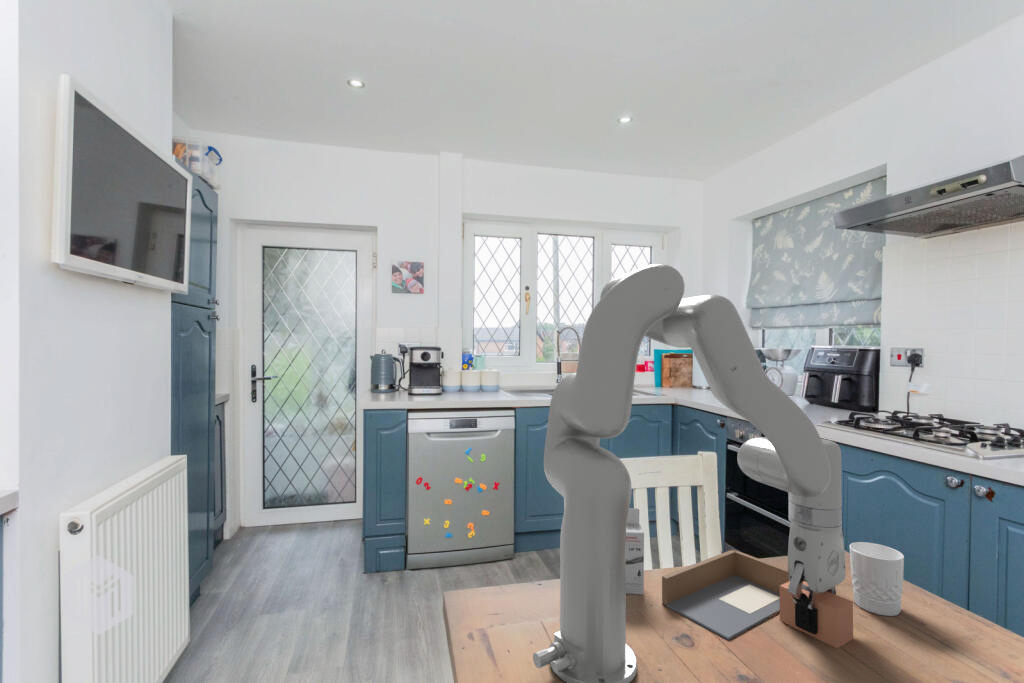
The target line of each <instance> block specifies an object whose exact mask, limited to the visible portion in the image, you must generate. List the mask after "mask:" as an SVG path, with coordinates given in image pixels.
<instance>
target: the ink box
mask: <svg viewBox="0 0 1024 683" xmlns="http://www.w3.org/2000/svg"><path fill="white" fill-rule="evenodd" d="M644 582H645V531H644V530H643V527H642V526H641V524H640V509H639V508H637V507H634V508H633V507H629V511H628V517H627V525H626V595H628V594H629V595H644V594H645V583H644Z"/></svg>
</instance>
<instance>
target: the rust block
mask: <svg viewBox="0 0 1024 683" xmlns="http://www.w3.org/2000/svg"><path fill="white" fill-rule="evenodd" d="M789 584H790V581H789V582H787V583H784V584H782V585H780V612H779V621H780V622H782V623H784V624H786V625H788V626H790V627H793V628H795V629H797V630H798V631H801V632H803V633H805V634H807V635H809V636H810V637H813V638H815V639H816V640H820V641H821V642H822V643H823V642H824V643H825V644H826V645H829V646H831V647H834V648H835V649H838V648H840V647H842V646H844V645H845V644H847V643H849V642H850V641H851V640H854V601H852V600H850V599H847V598H845V597H842V596H840V595H837V594H836V595H835V594H833V593H830V592H828V591H825V592H823V593H820V594H818V593H816V601H815V608H816V609H817V616H818V633H817V634H812V633H810V632H808V631H805V630H803V629H801V628H799V627H797V626H796V625H795V603H794V598H793V597H792V595H791V594H790V593H789V592H788V587H789ZM803 584H804V585H807V586H808V584H807V582H805V581H803ZM802 592H803V593H804V594H806V595H807V597H808V598H809V591H807V590H804V589H802Z"/></svg>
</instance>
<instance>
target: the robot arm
mask: <svg viewBox="0 0 1024 683" xmlns="http://www.w3.org/2000/svg"><path fill="white" fill-rule="evenodd" d="M684 294H685V280H684V278H683V276H682V274H681V273H680V272H679V271H678V269H677V268H674V267H673V266H671V265H667V264H665V263H663V264H661V263H660V264H659V263H655V264H654V263H653V264H648V265H645V266H642V267H640V268H637V269H634V270H632V271H629V272H626V273H623V274H621V275H617V276H615V277H614V278H612V279H609V281H608V282H607V283H606V284H605V285H604V287H603V289H602V290H601V293H600V297H599V298H600V299H599V301H598V302H597V303H596V305H595V306H594V307H593V309H592V311H591V313H590V315H589V317H588V319H587V321H586V323H585V326H584V330H583V334H582V338H581V342H580V343H581V345H580V350H579V356H578V361H577V368H576V372H573V373H570V374H568V375H565V376H564V377H563V378H562V379H561V380H560V381H559V382H558V384H557V385H556V386H555V388H554V391H553V392H552V396H551V397H550V398H551V399H550V404H549V411H548V418H547V425H546V433H545V434H546V435H545V441H544V442H545V443H544V451H543V470H544V474H545V477H546V479H547V481H548V482H549V484H550V485H551V487H552V488H553V489H554V490H555V491H556V492H557V493H559V495H561V497H563V499H564V511H563V516H562V521H561V528H560V539H559V540H560V541H559V543H560V544H559V556H560V557H559V558H560V561H559V566H560V567H559V568H560V571H559V577H560V578H559V584H560V585H559V586H560V587H559V589H560V590H559V599H560V600H559V602H560V604H559V607H560V608H559V616H560V617H559V618H560V619H559V631H557V632H554V634H553V637H554V640H553V641H554V642H551V643H550V644H549V647H548V648H543V649H541V650H538V651H536V652H534V653H533V654H532V660H533V664H534V666H535V667H536V668H537V669H541V668H543V667H546V666H548V665H550V667H551V669H552V671H553V672H554V673H555V675H557V677H559V679H561V680H562V681H563V682H565V683H631V682H632V681H633V680H634V678H635V677H636V675H637V671H638V669H637V667H638V661H637V657H636V655H635V652H634V651H633V649H632V648H631V647H630V646H629V645H628V644H627V643H626V641H627V638H626V636H627V634H626V633H627V627H626V625H627V620H626V619H627V618H626V617H627V616H626V615H627V614H626V613H627V610H626V609H627V608H626V605H627V604H626V601H627V600H626V599H627V593H626V525H627V517H628V511H629V508H630V505H631V498H632V481H631V480H632V479H631V475H630V474H629V471H628V468H627V467H626V465H625V464H624V463H623V461H622V460H621V459H620V458H619V457H618V456H617V455H616V454H614V453H613V452H611V451H610V450H607V449H606V448H604V447H602V446H600V444H601V443H600V442H601V439H604V440H605V439H612V438H615V437H618V436H619V435H620V434H622V433H623V432H624V431H625V429H626V428H627V426H628V424H629V422H630V418H631V412H632V405H633V396H634V386H635V377H636V368H637V362H638V361H637V360H638V356H639V351H640V347H641V345H642V342H643V340H644V338H648V339H650V340H653V341H655V342H659V343H661V344H665V345H667V346H671V347H675V348H691V351H692V353H693V355H694V357H695V359H696V361H697V363H698V365H699V368H700V369H701V371H702V373H703V376H704V379H705V380H706V383H707V385H708V387H709V389H710V391H711V393H712V395H713V396H714V398H715V399H716V400H717V401H718V402H719V403H721V404H722V405H723V406H725V407H726V408H728V409H729V410H730V411H732V412H734V414H737V415H738V416H740V417H741V418H743V419H744V420H746V421H747V422H749V423H750V424H751V425H753V426H754V427H755V428H756V429H757V430H758V431H760V432H761V434H762V435H763V436H757V437H754V438H749V439H748V440H746V441H744V442H743V443H742V445H741V446H740V447H739V449H738V451H737V457H736V458H737V459H736V460H737V465H738V467H739V469H740V470H741V472H742V473H744V474H745V475H746V476H747V477H749V478H750V479H751V480H754V481H755V482H758V483H761V484H764V485H767V486H770V487H773V488H775V489H778V490H781V491H784V492H787V494H788V521H789V522H790V527H789V536H788V551H787V570H788V577H789V580H790V584H789V587H788V592H789V593H790V594H791V595H792V597H793V598H794V603H795V625H796V626H797V627H799V628H801V629H803V630H805V631H808V632H810V633H812V634H817V633H818V616H817V609H816V608H815V601H816V593H818V594H820V593H823V592H825V591H828V592H830V593H833V594H835V595H837V591H836V590H837V589H836V586H837V585H839V584H841V583H843V582H844V580H845V579H846V573H847V572H846V556H845V542H844V534H843V529H842V528H843V520H842V519H843V514H842V513H843V511H842V504H843V503H842V502H843V501H842V497H843V496H842V450H841V447H840V445H838V443H836V442H835V441H833V440H829V439H824V438H821V436H820V434H819V432H818V430H817V428H816V426H815V425H814V423H813V422H812V420H811V419H810V417H808V415H807V413H805V412H804V410H803V409H802V408H801V407H800V406H798V404H797V403H796V402H794V400H792V398H791V397H790V396H788V395H787V393H786V392H784V391H783V389H781V388H780V387H779V386H778V385H777V384H775V382H773V380H771V378H770V377H769V376H768V375H767V373H766V371H765V370H764V367H763V364H762V363H761V360H760V357H759V356H758V354H757V351H756V349H755V347H754V345H753V343H752V341H751V338H750V335H749V333H748V331H747V329H746V327H745V325H744V322H743V321H742V319H741V316H740V314H739V311H738V310H737V308H736V306H735V305H734V303H733V302H732V301H731V300H730V299H729V298H727V297H725V296H722V295H719V294H718V295H717V294H704V295H698V296H697V295H696V296H691V297H685V298H684ZM803 582H806V583H807V584H808V586H807V585H804V584H803ZM802 589H804V590H807V591H809V598H808V597H807V595H806V594H804V593H803V592H802Z"/></svg>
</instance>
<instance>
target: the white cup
mask: <svg viewBox="0 0 1024 683" xmlns="http://www.w3.org/2000/svg"><path fill="white" fill-rule="evenodd" d="M849 561H850V574H851V585H852V595H853V600H854V601H853V602H854V604H856V605H857V606H858V607H859V608H860V609H862V610H865V611H867V612H870V613H873V614H876V615H880V616H887V617H892V616H893V617H895V616H898V615H899V614H900V613H901V611H902V597H903V586H904V571H905V570H904V568H905V566H904V565H905V562H904V561H905V556H904V554H903V553H902V552H901V551H899V550H897V549H894V548H892V547H890V546H887V545H883V544H879V543H875V542H866V541H858V542H852V543H850V544H849Z"/></svg>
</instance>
